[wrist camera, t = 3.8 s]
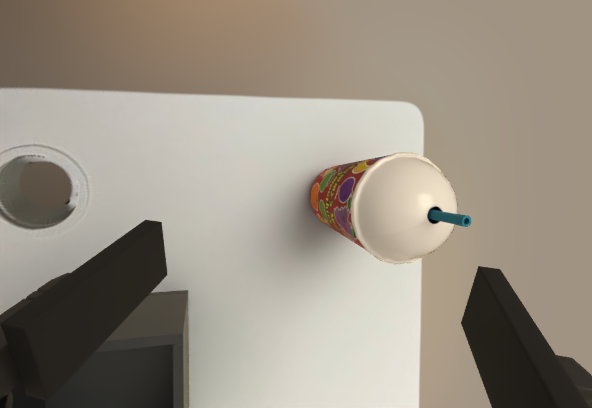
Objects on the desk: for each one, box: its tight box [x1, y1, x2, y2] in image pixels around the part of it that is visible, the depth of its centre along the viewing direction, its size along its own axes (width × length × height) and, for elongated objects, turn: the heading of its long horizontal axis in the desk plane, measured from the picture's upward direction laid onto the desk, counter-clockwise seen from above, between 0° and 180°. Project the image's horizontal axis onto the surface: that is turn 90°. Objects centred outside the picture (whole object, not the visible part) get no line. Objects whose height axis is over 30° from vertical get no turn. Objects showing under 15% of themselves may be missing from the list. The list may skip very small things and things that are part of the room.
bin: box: [11, 291, 189, 408], centre depth 30 cm, size 14×14×10 cm
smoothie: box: [311, 153, 471, 264], centre depth 29 cm, size 8×8×20 cm
